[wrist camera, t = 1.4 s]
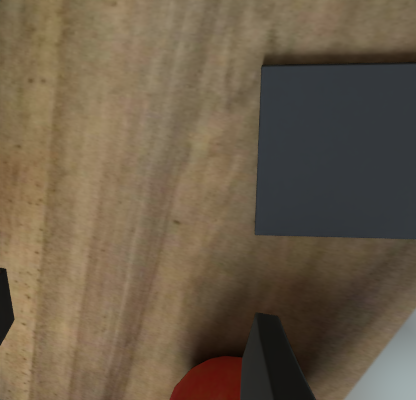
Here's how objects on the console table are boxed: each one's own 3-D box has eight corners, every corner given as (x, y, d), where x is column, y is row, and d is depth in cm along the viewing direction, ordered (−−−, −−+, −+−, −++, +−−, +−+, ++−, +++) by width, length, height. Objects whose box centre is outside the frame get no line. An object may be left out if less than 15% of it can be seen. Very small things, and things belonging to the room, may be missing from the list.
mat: (254, 231, 20) (255, 235, 20) (261, 64, 16) (261, 65, 16) (419, 235, 19) (422, 239, 19) (472, 61, 15) (478, 62, 15)
